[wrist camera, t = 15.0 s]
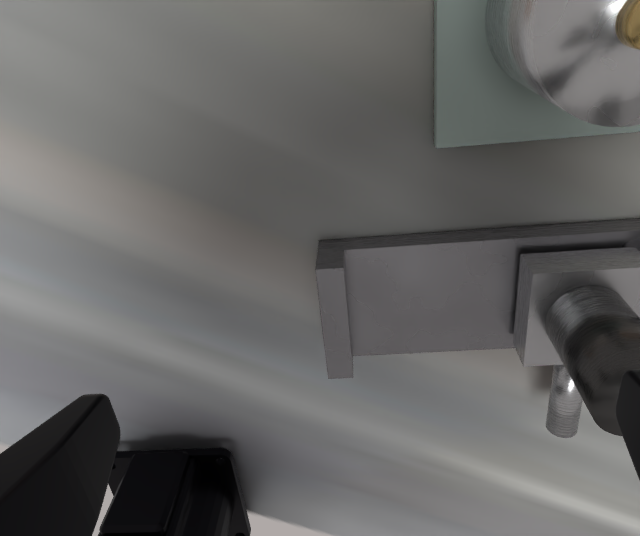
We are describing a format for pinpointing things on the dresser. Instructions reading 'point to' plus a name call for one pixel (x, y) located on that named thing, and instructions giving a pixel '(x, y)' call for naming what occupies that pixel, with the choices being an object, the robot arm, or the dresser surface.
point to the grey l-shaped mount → (488, 89)
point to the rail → (437, 286)
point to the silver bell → (572, 54)
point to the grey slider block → (580, 329)
